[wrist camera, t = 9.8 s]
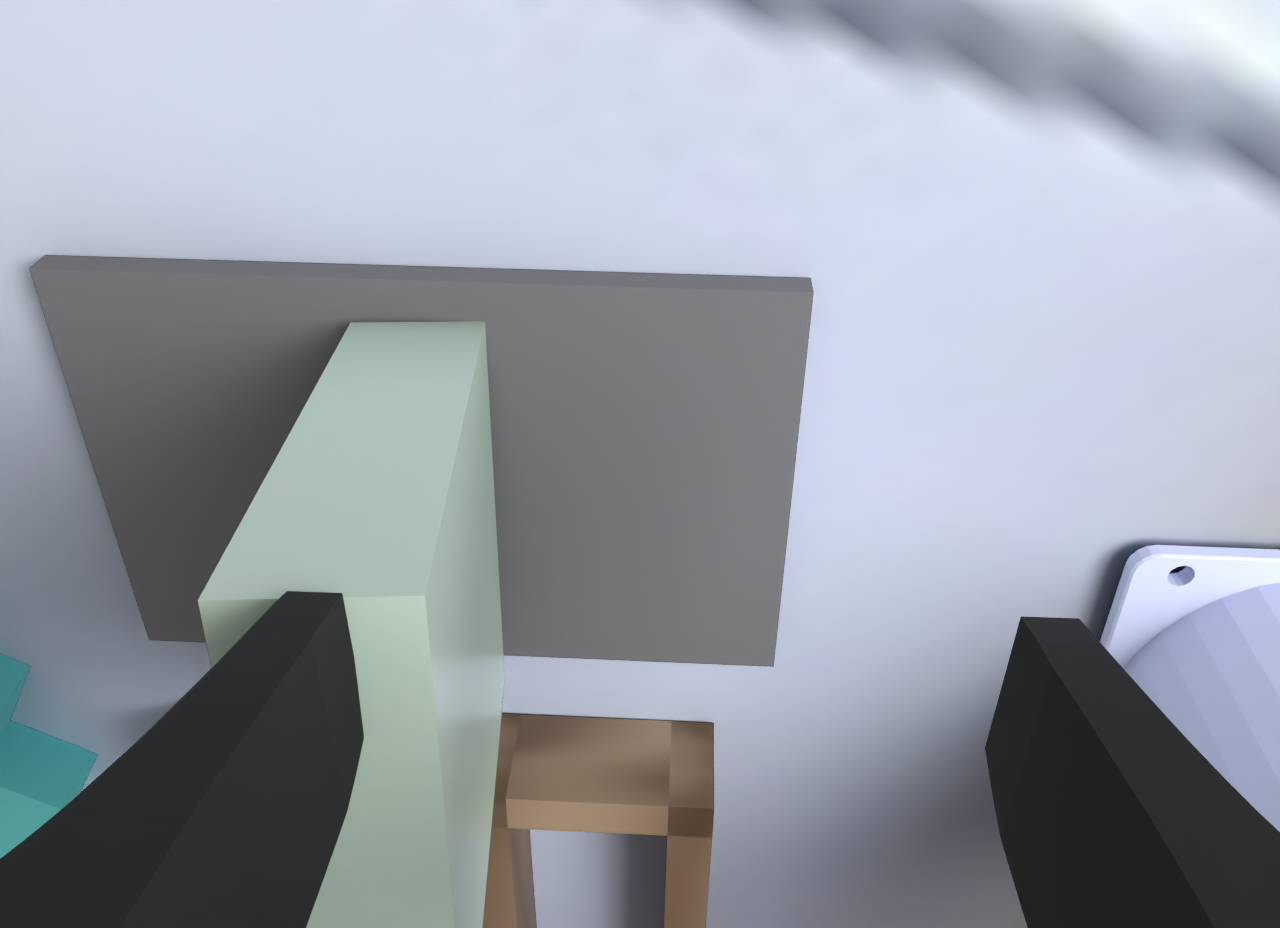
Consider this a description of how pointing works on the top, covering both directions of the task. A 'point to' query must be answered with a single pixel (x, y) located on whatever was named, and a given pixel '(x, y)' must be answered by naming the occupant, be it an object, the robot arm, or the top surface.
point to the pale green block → (393, 608)
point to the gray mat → (520, 430)
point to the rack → (601, 802)
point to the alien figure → (32, 766)
